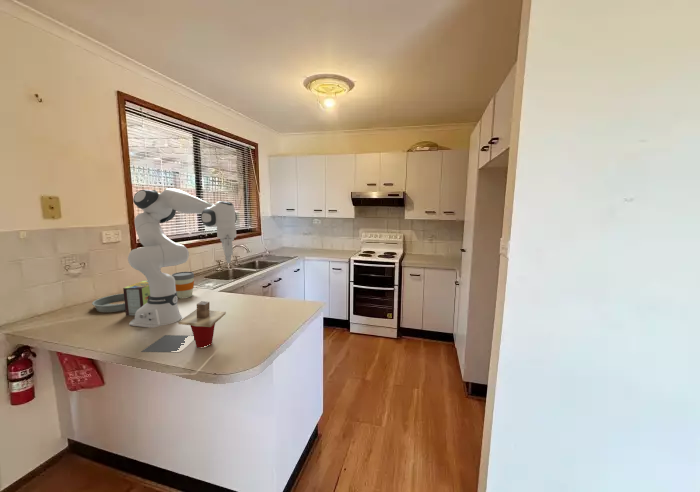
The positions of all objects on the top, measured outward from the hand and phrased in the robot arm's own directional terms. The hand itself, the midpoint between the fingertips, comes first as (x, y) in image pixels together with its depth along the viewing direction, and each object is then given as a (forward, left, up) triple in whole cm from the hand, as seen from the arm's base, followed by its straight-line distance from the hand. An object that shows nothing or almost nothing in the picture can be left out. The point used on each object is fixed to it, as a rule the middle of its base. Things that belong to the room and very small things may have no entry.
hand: (228, 261), depth 145 cm
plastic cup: (0, -28, -31) cm, 42 cm away
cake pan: (-73, +19, -32) cm, 82 cm away
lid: (0, -28, -19) cm, 34 cm away
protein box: (-53, +11, -31) cm, 63 cm away
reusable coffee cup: (-46, +38, -31) cm, 67 cm away
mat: (-14, -27, -31) cm, 43 cm away
